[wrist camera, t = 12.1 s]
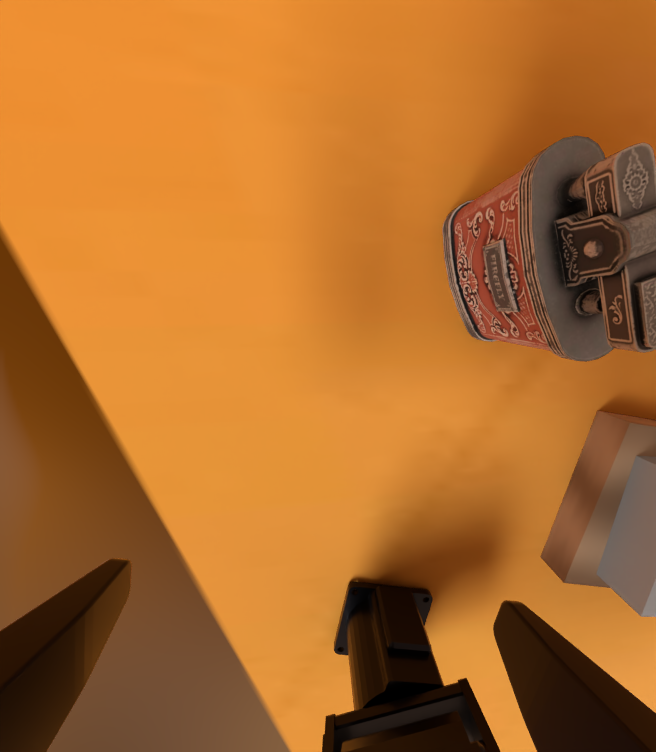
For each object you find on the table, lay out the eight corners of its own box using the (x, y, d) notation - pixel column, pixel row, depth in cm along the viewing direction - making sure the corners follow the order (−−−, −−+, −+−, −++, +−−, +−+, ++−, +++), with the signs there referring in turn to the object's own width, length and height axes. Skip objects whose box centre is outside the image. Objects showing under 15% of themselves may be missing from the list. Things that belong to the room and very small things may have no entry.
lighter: (431, 217, 18) (577, 111, 8) (488, 195, 18) (705, 62, 8) (465, 347, 20) (617, 391, 10) (516, 329, 19) (721, 354, 10)
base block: (668, 565, 25) (714, 599, 23) (533, 549, 24) (563, 582, 21) (735, 431, 23) (796, 449, 20) (587, 406, 22) (630, 422, 19)
